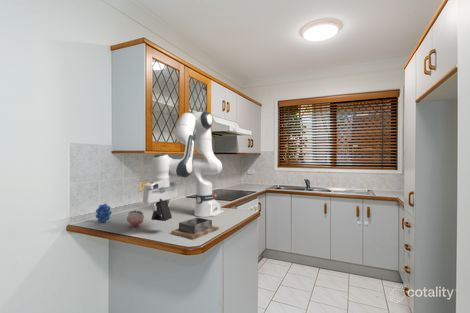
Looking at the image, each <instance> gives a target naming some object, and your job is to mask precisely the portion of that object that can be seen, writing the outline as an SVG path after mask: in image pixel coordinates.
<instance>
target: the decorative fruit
mask: <svg viewBox="0 0 470 313" xmlns="http://www.w3.org/2000/svg"><path fill="white" fill-rule="evenodd" d="M144 219H145V215H144V213H143V212H142V211H141V210H136V209H135V210H132V211H129V212H128V213H127V217H126V220H127V222H128V224H129V225H131V226H132V227H134V228H135V227H137V226H140V225H141V224H142V223H143V222H144Z"/></svg>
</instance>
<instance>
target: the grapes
mask: <svg viewBox="0 0 470 313" xmlns="http://www.w3.org/2000/svg"><path fill="white" fill-rule="evenodd" d="M95 213H96V214H95V218H96V219H97V222H100V223H101V222H102V223H103V222H105V223H106V222H107V221H109V220H110V219H111V215H112V211H111V206H110V205H108V204H107V203H103V204H100V205H99V206H98V208H96V209H95Z"/></svg>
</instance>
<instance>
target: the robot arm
mask: <svg viewBox="0 0 470 313" xmlns="http://www.w3.org/2000/svg"><path fill="white" fill-rule="evenodd" d="M213 118H214V117H213V115H212V113H211V112H208V111H195V112H184V113H182V114H181V116H180V117H179V119H178V121H177V123H176V125H175V128H174V131H173V134H174V137H175V140H176V141H177V142H178V143H180V144H182V145H185V146H184V153H183V157H181V158H180V159H177V158H172V157H170V156H169V155H168V153H164V152H163V153H157V154H155V155H153V158H152V163H151V171H152V178H151V179H152V180H150V181H149V182H146V183H145V184H144V185H143V188H144V190H143V192H142V193H143V194H142V202H143V203H144V204H146V205H150V204H151V206H152V208H153V211H157V210H158V207H156V202H160V199H162V201H165V200H167V203H168V206H169V207H170V204H171V202H172V199H173V200H174V199H177V198H178V187H177V183H176V182H174V181H172V182H170V177H179V178H188V177H189V176H192V178H193V179H194V182H195V189H196V194H195V206H194V207H195V209H194V213H193V214H194V216H195V217H198V218H202V217H203V218H204V217H205V218H206V217H208V218H209V217H217V216H219V215H221V214H222V213H224V211H225V210H223V209H221V204H220V202H218V201H217V200H216V199H215V198H216V197H217V194H214V193H213V183H212V182H211V181H210V180H208V179H207V177H205V175H206V176H207V175H209V176H211V175H219V174H221V172H222V171H223V164H222V161H221V160H220V159H218V158H217V157H216V155H215V153H214V150H213V141H212V139H213V138H212V129H211V128H212V125H213V121H214V119H213ZM195 130H196V132H195ZM194 132H195V136H194ZM195 150H196V151H197V153H198V154H200V155H202V156H203V158H194V156H195Z"/></svg>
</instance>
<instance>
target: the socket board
mask: <svg viewBox="0 0 470 313" xmlns="http://www.w3.org/2000/svg"><path fill="white" fill-rule="evenodd" d="M212 224H213V220H212V219H207V218H204V217H203V218H202V217H199V216H196V217H194V218H191V219H187V220H184V221H180V222H179V223H178V228H176V229H173V230H171V234H172V235H175V236H178V237H181V238H184V239H185V238H186V239H189V240H193V241H194V240H195V239H198V238H201V237H204V236H206V235H208V233H209V234H211V233H214V232H216V231H218V230H220V229H219V228H220V227H219V226H216V225H212ZM203 235H204V236H203Z"/></svg>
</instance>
